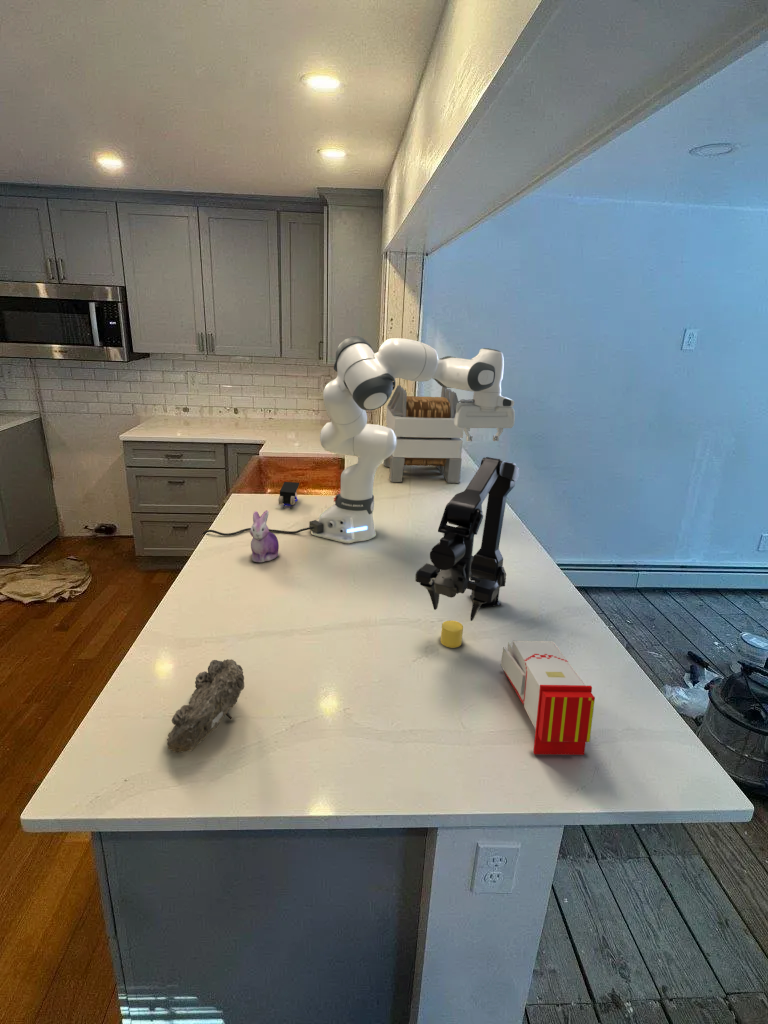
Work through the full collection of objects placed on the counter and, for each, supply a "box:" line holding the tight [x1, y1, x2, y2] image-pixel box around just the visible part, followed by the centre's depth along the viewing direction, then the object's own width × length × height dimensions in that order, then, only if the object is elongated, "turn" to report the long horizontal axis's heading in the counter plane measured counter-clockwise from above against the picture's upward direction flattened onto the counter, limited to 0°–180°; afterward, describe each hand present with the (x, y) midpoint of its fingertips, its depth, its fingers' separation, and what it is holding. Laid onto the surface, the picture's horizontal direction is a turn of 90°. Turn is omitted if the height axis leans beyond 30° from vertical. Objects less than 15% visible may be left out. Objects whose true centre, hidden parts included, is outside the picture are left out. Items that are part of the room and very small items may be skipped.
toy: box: [500, 640, 596, 756], centre depth 114 cm, size 12×13×30 cm
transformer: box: [382, 384, 465, 484], centre depth 268 cm, size 34×33×41 cm
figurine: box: [249, 509, 280, 563], centre depth 174 cm, size 9×10×15 cm
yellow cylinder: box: [440, 619, 464, 649], centre depth 135 cm, size 5×5×4 cm
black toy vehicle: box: [278, 481, 300, 510], centre depth 223 cm, size 7×8×15 cm
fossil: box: [166, 658, 245, 754], centre depth 106 cm, size 22×10×15 cm
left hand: (482, 440), depth 191 cm, fingers open, 8 cm apart
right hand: (453, 614), depth 133 cm, fingers open, 9 cm apart
